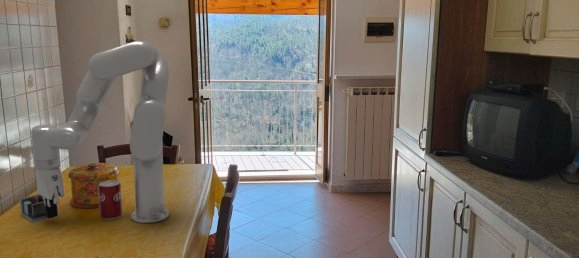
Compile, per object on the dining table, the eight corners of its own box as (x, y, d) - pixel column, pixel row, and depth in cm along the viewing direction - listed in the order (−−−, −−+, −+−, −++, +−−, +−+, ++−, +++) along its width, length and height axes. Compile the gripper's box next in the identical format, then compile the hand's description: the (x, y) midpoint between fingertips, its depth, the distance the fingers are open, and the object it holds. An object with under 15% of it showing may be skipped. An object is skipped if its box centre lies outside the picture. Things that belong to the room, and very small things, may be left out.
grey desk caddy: (57, 215, 158) (56, 199, 156) (32, 222, 151) (31, 205, 150) (44, 208, 164) (43, 192, 163) (20, 215, 158) (19, 198, 157)
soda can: (98, 221, 154) (96, 187, 151) (101, 213, 160) (99, 180, 158) (121, 219, 155) (119, 185, 153) (123, 211, 162) (121, 179, 160)
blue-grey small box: (52, 211, 158) (51, 198, 157) (33, 216, 153) (32, 202, 152) (45, 208, 161) (44, 195, 160) (27, 212, 156) (26, 199, 155)
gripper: (69, 165, 146) (73, 219, 149) (49, 157, 155) (53, 208, 158) (45, 170, 140) (50, 226, 143) (25, 161, 149) (30, 214, 153)
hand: (52, 216), depth 151 cm, fingers closed
